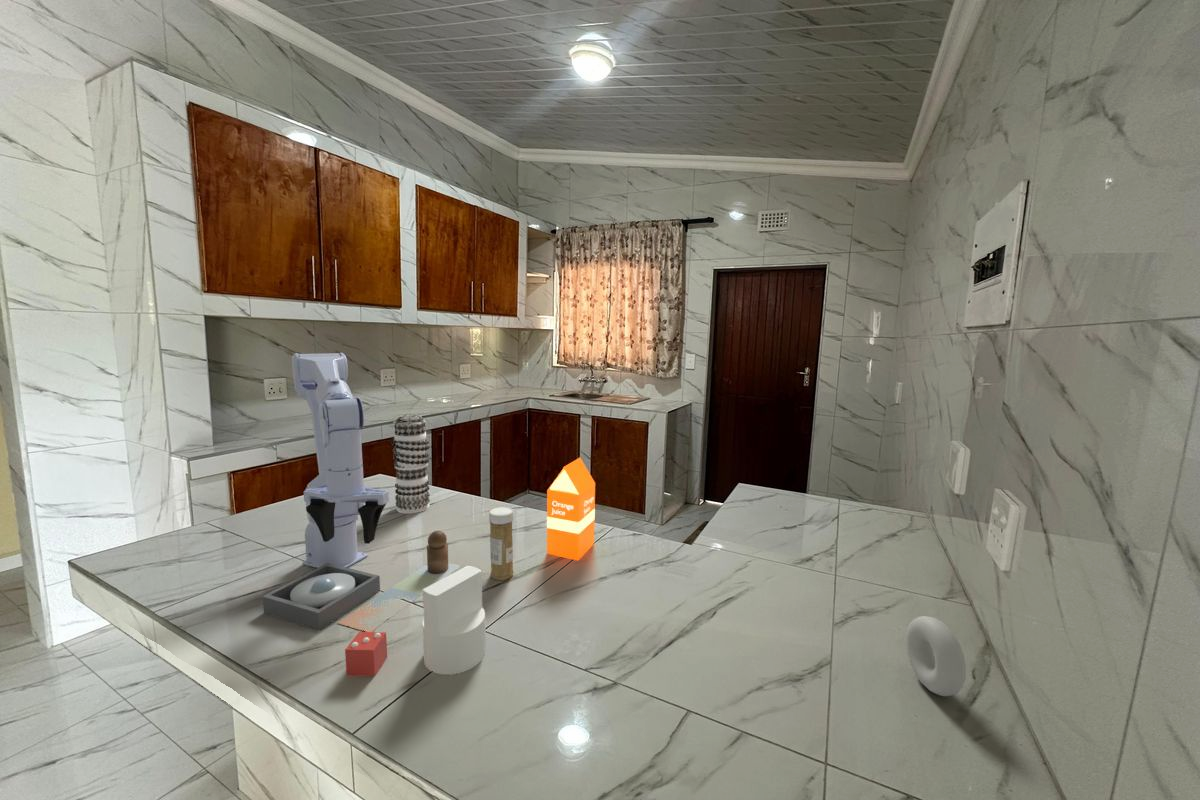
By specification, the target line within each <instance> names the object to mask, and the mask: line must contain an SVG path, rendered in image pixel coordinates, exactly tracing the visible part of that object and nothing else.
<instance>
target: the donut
mask: <svg viewBox="0 0 1200 800" xmlns="http://www.w3.org/2000/svg"><path fill="white" fill-rule="evenodd" d="M905 646H906V652H907V656H908V659H909V663H910V666H911V668H912V670H913V672H914V674H915V676H916V677H917V678H918V680H919V681H920V683H921V684H922V685H923V686H924V687H925V688H926V689H928V690H929V691H930V692H931V693H934V694H936V695H937V696H941V697H951V696H956V695H957V694H958V693H960V692H961V690H962V689H963V687H964V686H965V685H964V684H965V682H966V678H967V665H966V660H965V655H964V652H963V650H962V647H961V644H960V642H959V640H958V639H957V637H956V635H955V634H954V632H953V631H952V630H951V629H950V628H949V626H948V625H946V624H945V623H944V622H942V621H941V620H940V619H938V618H935V617H934V616H933V617H932V616H927V615H921V616H917V617H916V618H914V619H913V620H912V621H911V622H910V624H908V627H907V629H906V634H905Z"/></svg>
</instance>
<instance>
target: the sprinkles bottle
mask: <svg viewBox="0 0 1200 800" xmlns="http://www.w3.org/2000/svg"><path fill="white" fill-rule="evenodd" d="M488 515H489V516H488V517H489V518H488V519H489V521H488V522H489V524H490V525H489V526H490V527H489V528H490V532H489V533H490V534H489V541H490V542H489V546H490V547H489V548H490V551H489V553H490V577H491V579H494V580H496V581H503V580H504V581H505V580H508V579H510V578H511V577H512V576H513V575H514V568H513V567H514V566H513V565H514V564H513V563H514V562H513V561H514V553H513V551H514V550H513V544H514V543H513V540H514V539H513V520H514V511H513V509H512V508H510V507H504V506H503V507H500V506H499V507H495V508H492V509H491V510H490V511H489V514H488Z"/></svg>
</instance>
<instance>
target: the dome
mask: <svg viewBox="0 0 1200 800" xmlns="http://www.w3.org/2000/svg"><path fill="white" fill-rule="evenodd" d="M354 588H355V579H354V578H353V577H352V576H351V575H348V574H343V573H330V574H324V575H319V576H316V577H313V578H310V579H307V580H305V581H303V582H301V583H300V584H298V585H297V586H295V587H294V588H293V589H292V591H291V593H290V599H291V601H292V602H296V603H299V604H303V605H306V606H310V607H313V608H316V609H320V608H322V607H324V606H325V605H327V604H329V603H330V602H332V601H334V600H335V599H337V598H339V597H340V596H342V595H344V594H345V593H347V592H349V591H350V590H352V589H354Z"/></svg>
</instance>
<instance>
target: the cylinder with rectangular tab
mask: <svg viewBox="0 0 1200 800" xmlns="http://www.w3.org/2000/svg"><path fill="white" fill-rule="evenodd" d="M482 578H483V577H482V570H481V569H479V568H478V567H476V566H472V565H466V566H465V567H462V568H461V569H460V568H459V569H457V570H456V571H454V572H453V573H451V574H450V575H449V576H447V577H445V578H443V579H441V580H440V581H438V582H436V583H434V584H432V585H430V586H428V587H426V588H424V589H423V595H422V600H423V601H422V602H423V603H422V604H423V619H422V644H423V645H422V647H423V663H425V664H424V666H425V665H426V666H425V668H426V669H428V670H429V671H430V672H432V671H433V672H432V673H434V672H435V673H436V674H437V673H439V674H438V675H443V674H445V675H444V676H447V675H446V674H449V675H456V673H457V674H461V672H462V673H464V672H466V671H469V670H471V669H473V668H475V667H476V666H477V665H478V664H479V663H480V662H482V660H483V659H484V657H485V655H486V652H487V651H486V650H487V649H486V648H487V646H486V645H487V644H486V643H487V640H486V639H487V638H486V637H487V636H486V635H487V634H486V610H485V609H484V607H483V585H482V584H483V583H482V582H483V580H482Z"/></svg>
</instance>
